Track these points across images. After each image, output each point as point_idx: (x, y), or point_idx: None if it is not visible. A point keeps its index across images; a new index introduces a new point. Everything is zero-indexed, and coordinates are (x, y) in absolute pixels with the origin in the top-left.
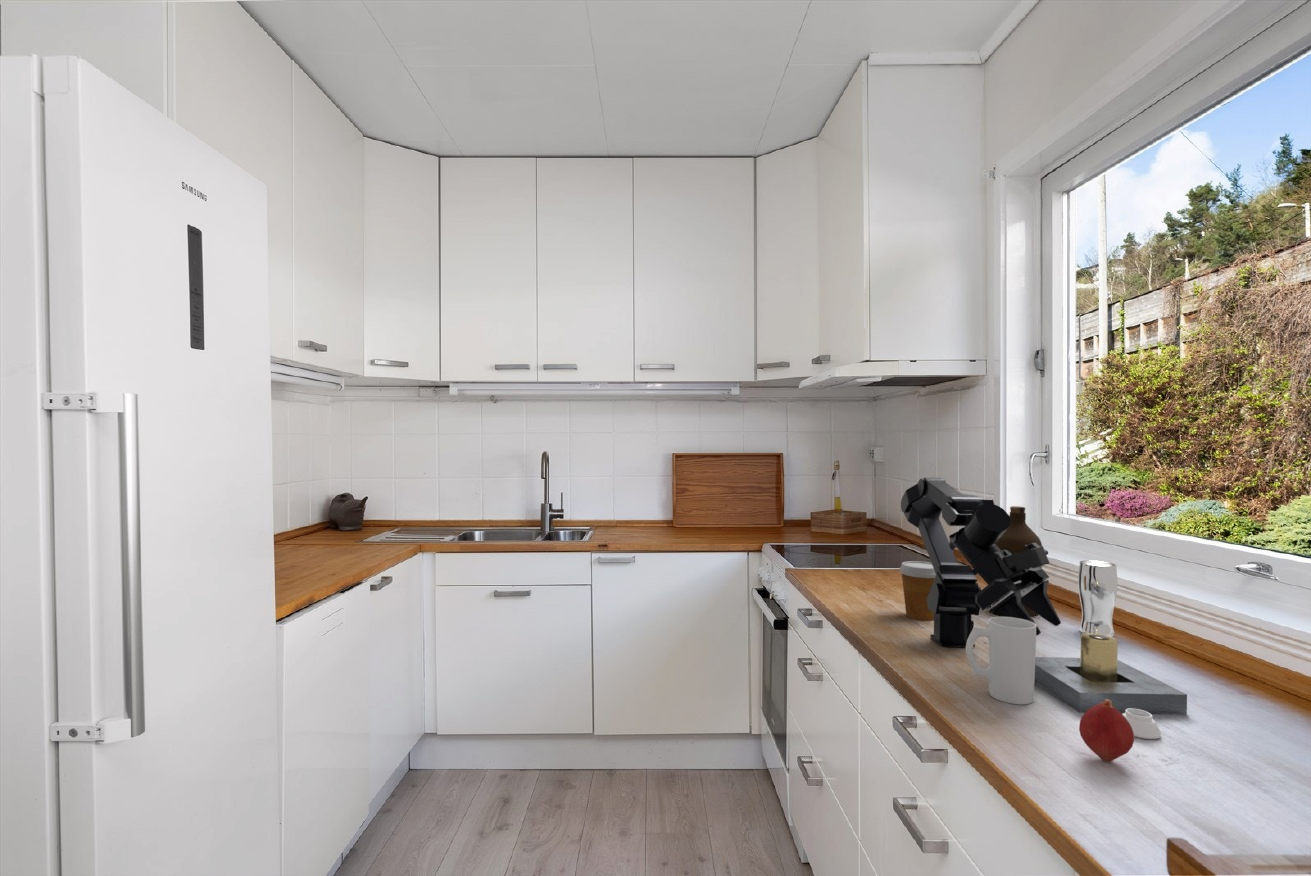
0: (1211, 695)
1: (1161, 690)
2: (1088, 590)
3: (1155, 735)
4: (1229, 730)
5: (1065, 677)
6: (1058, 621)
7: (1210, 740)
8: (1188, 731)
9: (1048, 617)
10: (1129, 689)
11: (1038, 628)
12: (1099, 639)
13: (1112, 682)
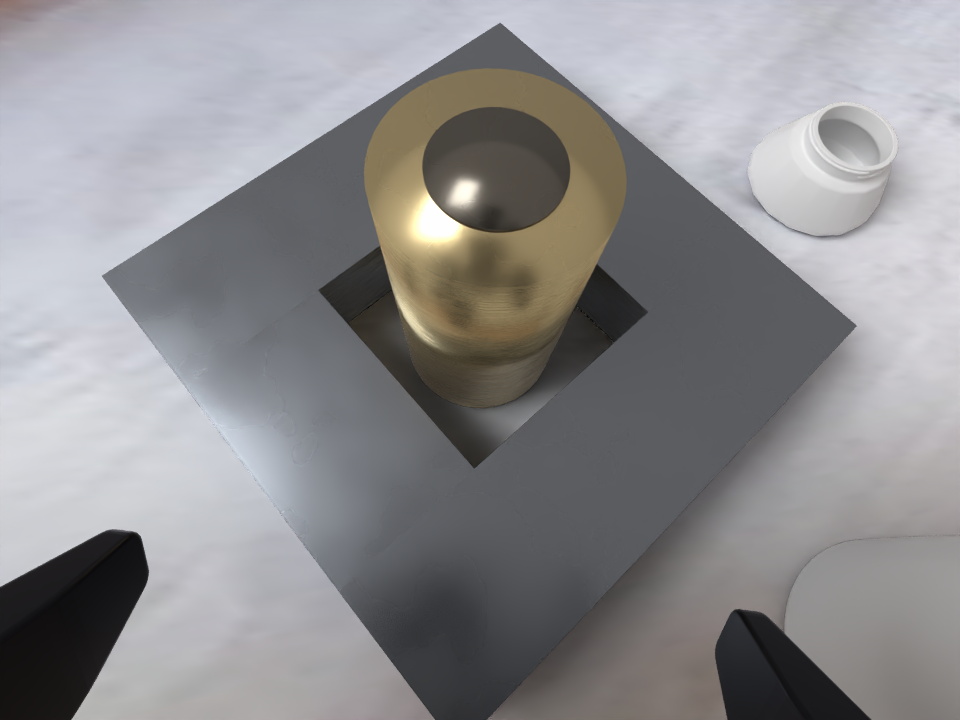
0: (204, 39)
1: None
2: None
3: (839, 132)
4: (549, 6)
5: (683, 421)
6: (125, 552)
7: (684, 40)
8: (659, 82)
9: (58, 690)
10: None
11: (767, 643)
12: (570, 155)
13: None
